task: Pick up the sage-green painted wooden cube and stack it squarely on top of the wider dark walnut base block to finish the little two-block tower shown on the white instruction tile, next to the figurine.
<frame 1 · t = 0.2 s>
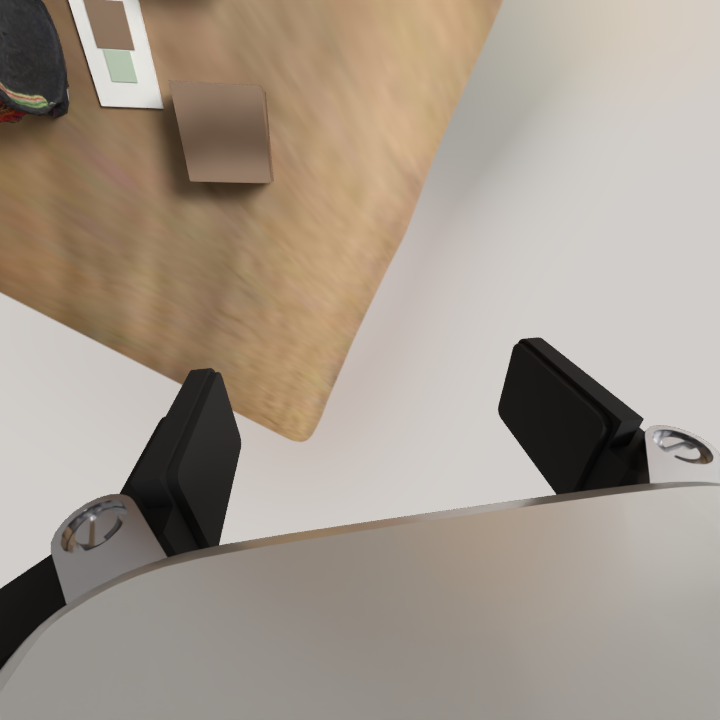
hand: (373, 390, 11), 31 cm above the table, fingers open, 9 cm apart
instruction tile: (117, 46, 27), on the table
figurine: (22, 56, 27), on the table
walnut base: (232, 137, 32), on the table
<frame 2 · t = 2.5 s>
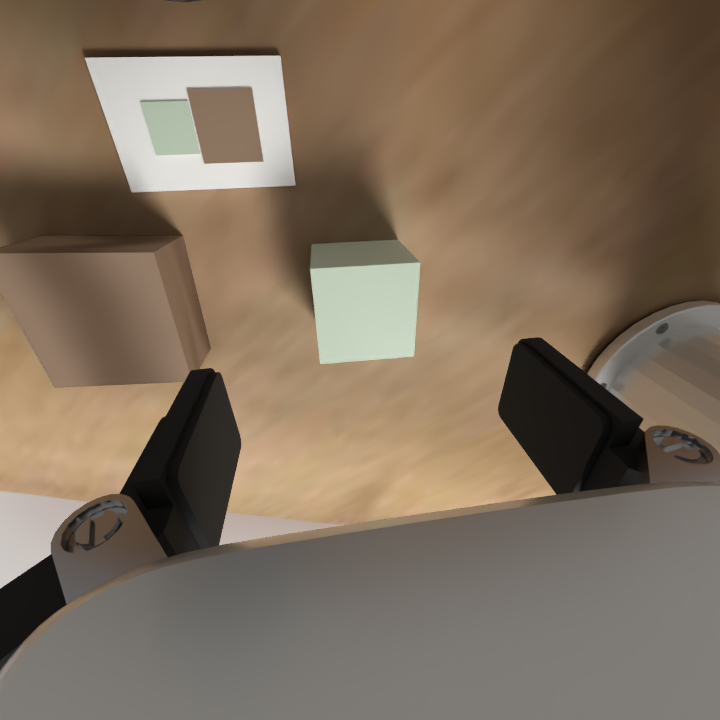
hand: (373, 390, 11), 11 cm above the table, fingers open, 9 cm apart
instruction tile: (203, 128, 16), on the table
sage cube: (356, 283, 20), on the table
walnut base: (137, 296, 20), on the table
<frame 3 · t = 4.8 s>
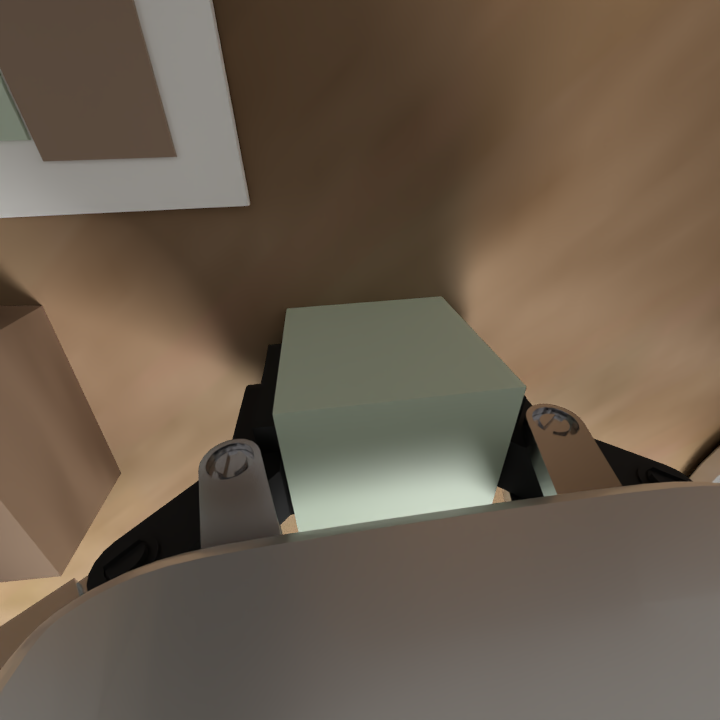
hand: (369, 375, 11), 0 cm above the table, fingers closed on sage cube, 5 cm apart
instruction tile: (30, 82, 7), on the table
sage cube: (367, 367, 12), on the table, touching gripper
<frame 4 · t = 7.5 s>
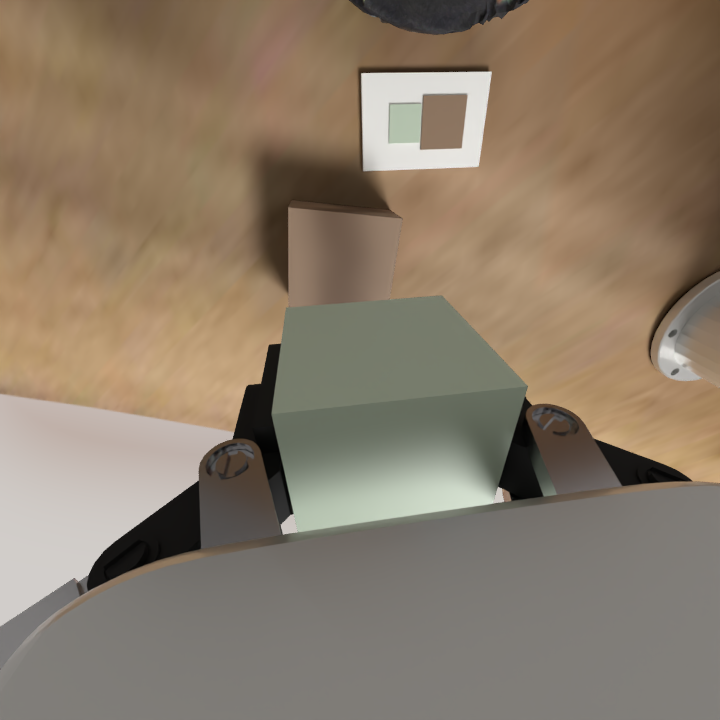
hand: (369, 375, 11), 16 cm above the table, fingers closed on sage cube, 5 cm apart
instruction tile: (423, 124, 21), on the table
sage cube: (367, 367, 12), point 16 cm above the table, touching gripper
walnut base: (338, 254, 25), on the table
when the fingers open (5 cm above the table, at t = 10.2 s): sage cube stays where it is, resting on walnut base.
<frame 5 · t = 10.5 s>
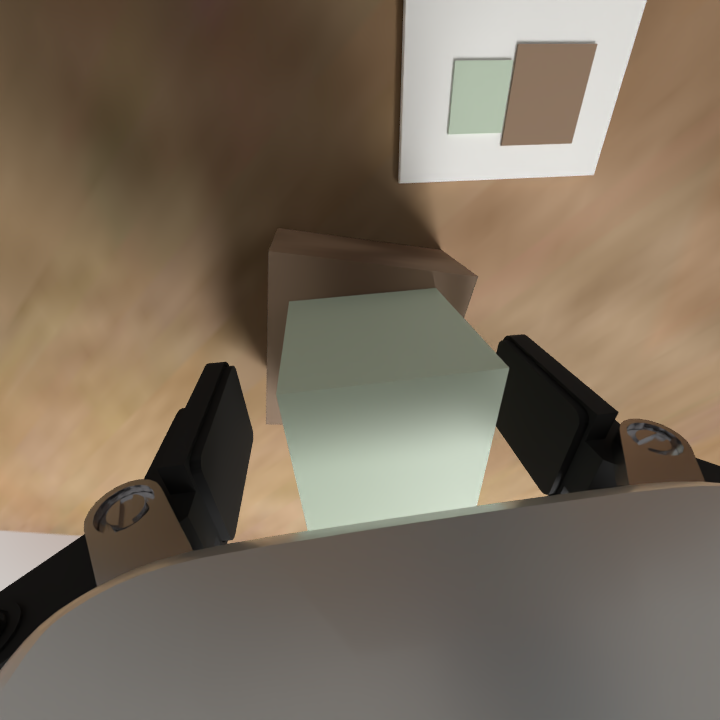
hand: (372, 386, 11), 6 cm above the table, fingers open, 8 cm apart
instruction tile: (509, 99, 12), on the table
sage cube: (366, 357, 13), point 4 cm above the table, touching walnut base
walnut base: (351, 313, 16), on the table, touching sage cube
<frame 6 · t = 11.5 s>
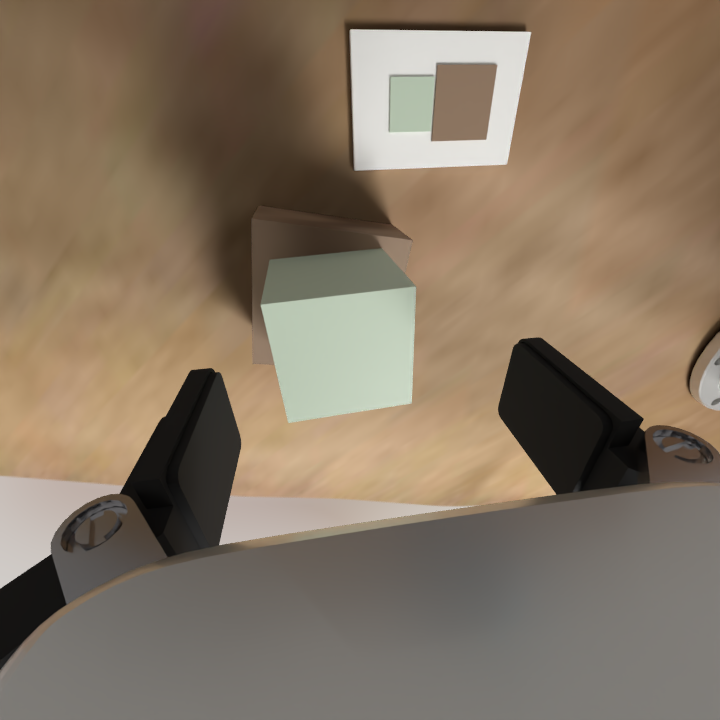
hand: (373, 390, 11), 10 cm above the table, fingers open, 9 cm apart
instruction tile: (435, 105, 16), on the table
sage cube: (332, 305, 16), point 4 cm above the table, touching walnut base
walnut base: (321, 278, 19), on the table, touching sage cube
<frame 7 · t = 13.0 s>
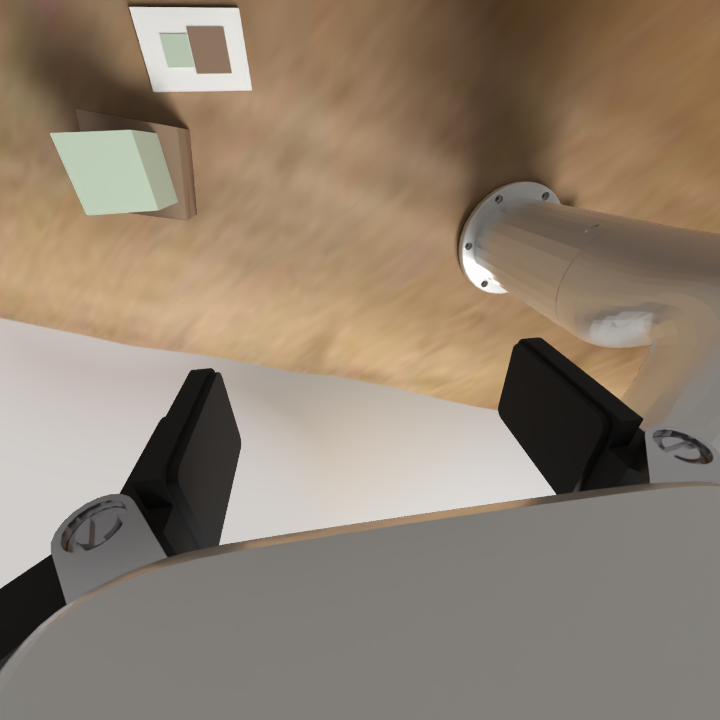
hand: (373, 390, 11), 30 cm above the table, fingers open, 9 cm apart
instruction tile: (195, 52, 27), on the table
sage cube: (136, 171, 28), point 4 cm above the table, touching walnut base
walnut base: (153, 167, 31), on the table, touching sage cube
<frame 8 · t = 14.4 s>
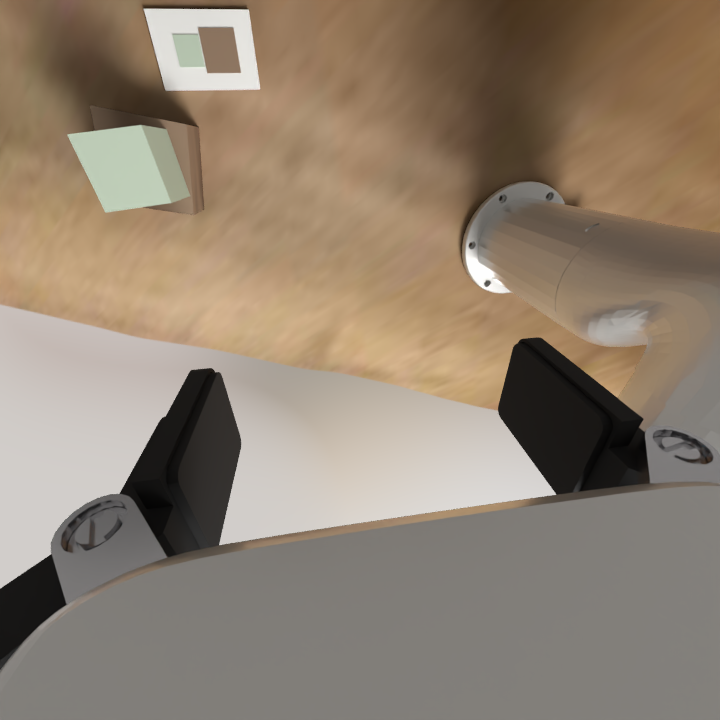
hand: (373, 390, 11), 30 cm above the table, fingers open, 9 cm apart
instruction tile: (206, 52, 28), on the table
sage cube: (149, 168, 29), point 4 cm above the table, touching walnut base
walnut base: (163, 163, 32), on the table, touching sage cube
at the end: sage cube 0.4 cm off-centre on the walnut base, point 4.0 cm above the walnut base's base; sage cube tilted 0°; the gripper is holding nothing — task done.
